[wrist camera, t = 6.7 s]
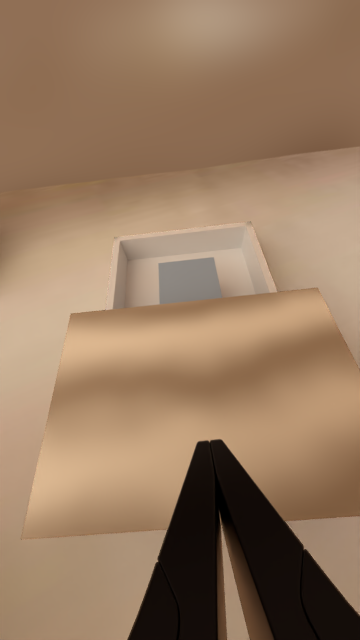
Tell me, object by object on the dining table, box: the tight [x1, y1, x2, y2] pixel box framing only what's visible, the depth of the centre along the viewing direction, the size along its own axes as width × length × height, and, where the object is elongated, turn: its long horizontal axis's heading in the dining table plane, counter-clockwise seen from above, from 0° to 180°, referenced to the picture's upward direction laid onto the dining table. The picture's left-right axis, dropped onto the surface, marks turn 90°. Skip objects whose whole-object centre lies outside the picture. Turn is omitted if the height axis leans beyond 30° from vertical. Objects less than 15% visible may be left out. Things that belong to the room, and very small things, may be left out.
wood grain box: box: [21, 288, 360, 540], centre depth 17 cm, size 13×20×8 cm
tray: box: [105, 221, 278, 310], centre depth 25 cm, size 15×18×4 cm
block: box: [158, 257, 222, 304], centre depth 23 cm, size 5×6×7 cm
